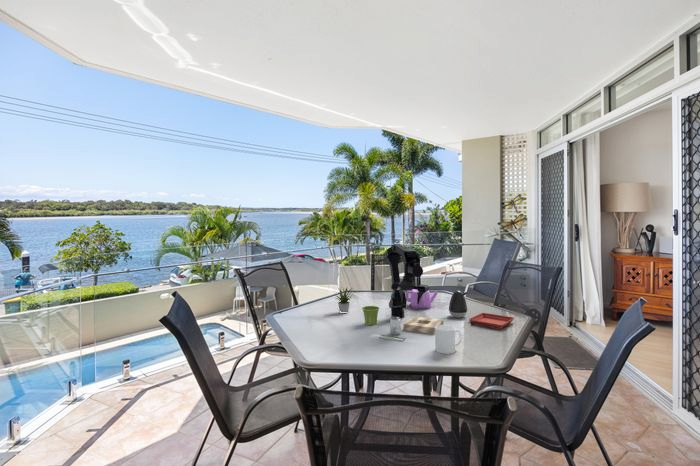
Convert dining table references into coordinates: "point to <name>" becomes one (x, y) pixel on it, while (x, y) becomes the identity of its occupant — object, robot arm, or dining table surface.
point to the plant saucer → (491, 320)
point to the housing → (422, 324)
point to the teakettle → (425, 300)
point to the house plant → (344, 300)
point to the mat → (392, 338)
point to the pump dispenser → (458, 304)
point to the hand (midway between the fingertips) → (409, 303)
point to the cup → (446, 339)
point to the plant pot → (370, 314)
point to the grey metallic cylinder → (395, 326)
